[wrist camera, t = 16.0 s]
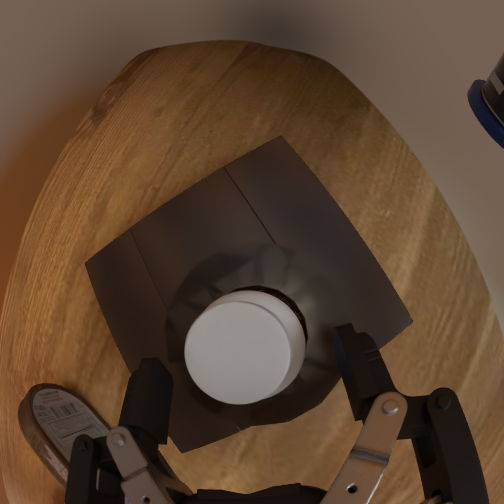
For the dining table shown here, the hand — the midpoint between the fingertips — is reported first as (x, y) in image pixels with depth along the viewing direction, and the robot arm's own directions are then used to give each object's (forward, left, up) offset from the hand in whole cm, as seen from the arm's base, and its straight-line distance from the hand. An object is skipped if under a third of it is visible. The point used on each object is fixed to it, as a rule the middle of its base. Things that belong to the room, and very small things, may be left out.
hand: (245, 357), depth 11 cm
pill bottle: (0, 0, -8) cm, 8 cm away
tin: (+17, +3, -8) cm, 19 cm away
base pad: (0, -3, -8) cm, 8 cm away
